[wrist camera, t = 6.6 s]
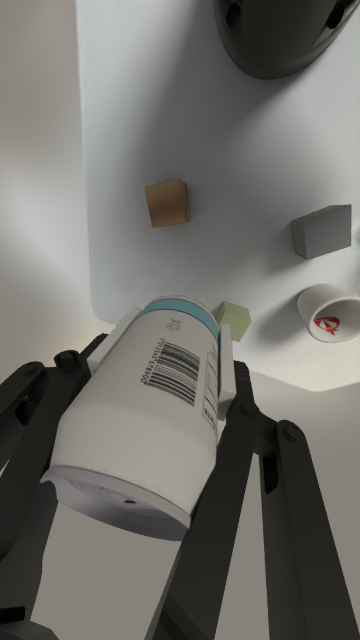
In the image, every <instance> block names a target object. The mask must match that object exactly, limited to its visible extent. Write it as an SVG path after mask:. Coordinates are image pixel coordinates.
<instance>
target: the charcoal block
mask: <svg viewBox="0 0 360 640" xmlns="http://www.w3.org/2000/svg"><path fill="white" fill-rule="evenodd" d="M291 226H292V234H293V242H294V250H295V253H296V254H297V255H299V256H301V257H303V258H305V259H306V260H309V259H312V258H315V257H318V256H321V255H324V254H327V253H331V252H334V251H337V250H340V249H343V248H346V247H349V246H351V205H332V206H328V207H325V208H323V209H320V210H318V211H315V212H313V213H310V214H308V215H305V216H303V217H300V218H298V219H295V220H293V221H291Z"/></svg>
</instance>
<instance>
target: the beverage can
mask: <svg viewBox="0 0 360 640" xmlns="http://www.w3.org/2000/svg"><path fill="white" fill-rule="evenodd" d="M218 338H219V332H218V325H217V322H216V320H215V318H214V316H213V315H212V313H211V312H210V311H209V310H208V309H207V308H206V307H205V306H204V305H202V304H201V303H199V302H198V301H196V300H194V299H191V298H188V297H185V296H179V295H168V296H163V297H160V298H157V299H155V300H153V301H152V302H150V303H149V304H148V305H147V306H146V307H145V309H144V310H143V311H142V312H141V314H140V315H139V316H138V318H137V319H136V320H135V322H134V323H133V324H132V325H131V327H130V328H129V329H128V331H127V332H126V333H125V335H124V336H123V337H122V338H121V340H120V341H119V342H118V344H117V345H116V346H115V347H114V349H113V350H112V351H111V353H110V354H109V355H108V357H107V358H106V359H105V360H104V362H103V363H102V364H101V366H100V367H99V368H98V370H97V371H96V372H95V373H94V375H93V376H92V377H91V379H90V380H89V381H88V383H87V384H86V385H85V386H84V388H83V389H82V390H81V392H80V393H79V394H78V395H77V397H76V398H75V399H74V401H73V402H72V403H71V405H70V406H69V407H68V408H67V410H66V411H65V412H64V414H63V415H62V417H61V419H60V421H59V424H58V429H57V434H56V439H55V443H54V448H53V453H52V457H51V462H50V467H49V470H47V471H46V472H45V473H44V475H43V476H42V478H41V479H40V482H41V483H43V482H45V481H48V480H50V481H51V482H52V483H53V484H54V485H55V488H56V493H57V500H58V501H59V502H61V503H63V504H64V505H66V506H68V507H70V508H72V509H74V510H76V511H78V512H80V513H82V514H84V515H87V516H89V517H92V518H94V519H96V520H99V521H101V522H104V523H106V524H109V525H112V526H115V527H118V528H120V529H124V530H127V531H130V532H133V533H137V534H140V535H144V536H148V537H153V538H157V539H163V540H170V541H182V540H183V538H184V536H185V534H186V532H187V529H188V530H190V528H191V525H192V522H193V517H194V515H195V512H196V510H197V507H198V505H199V502H200V499H201V497H202V494H203V492H204V489H205V487H206V484H207V481H208V479H209V476H210V474H211V472H212V470H213V469H214V466H215V463H216V456H217V415H218Z"/></svg>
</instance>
